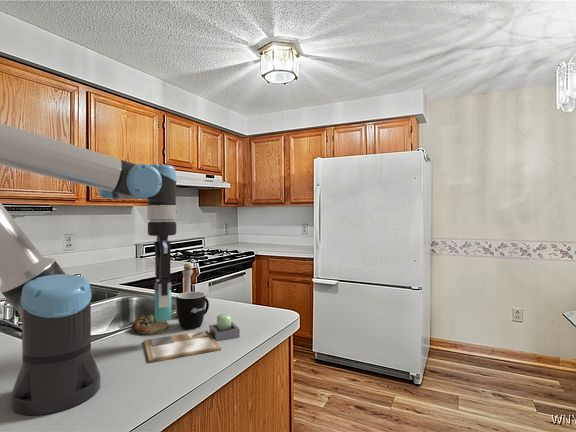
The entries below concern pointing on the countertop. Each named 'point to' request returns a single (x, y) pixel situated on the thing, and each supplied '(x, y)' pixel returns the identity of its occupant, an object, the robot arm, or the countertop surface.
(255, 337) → the countertop surface
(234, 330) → the button housing
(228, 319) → the button
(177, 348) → the tan flat tray
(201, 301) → the mug
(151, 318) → the bread roll
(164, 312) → the teal cylinder
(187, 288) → the potion bottle
